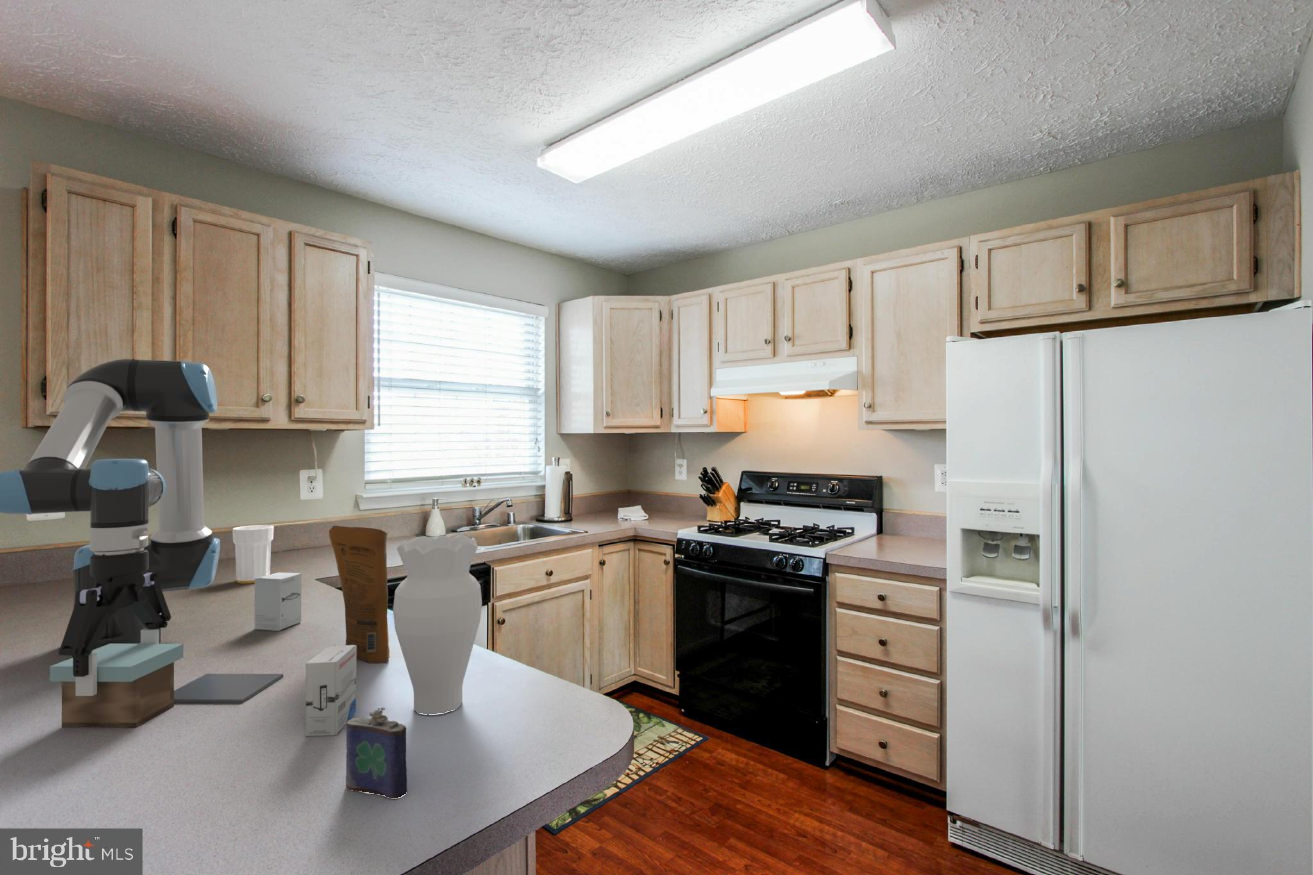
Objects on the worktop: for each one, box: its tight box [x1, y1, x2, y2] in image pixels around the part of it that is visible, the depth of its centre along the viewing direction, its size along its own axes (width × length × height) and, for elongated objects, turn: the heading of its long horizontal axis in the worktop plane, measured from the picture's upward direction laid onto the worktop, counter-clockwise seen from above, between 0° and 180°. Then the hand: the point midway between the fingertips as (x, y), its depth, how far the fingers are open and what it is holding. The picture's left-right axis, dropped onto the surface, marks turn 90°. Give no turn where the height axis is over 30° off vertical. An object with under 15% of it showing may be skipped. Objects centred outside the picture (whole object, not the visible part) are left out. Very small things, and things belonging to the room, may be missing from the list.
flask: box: [345, 707, 408, 799], centre depth 84 cm, size 9×3×11 cm, turn 72°
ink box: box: [305, 645, 357, 737], centre depth 103 cm, size 9×5×12 cm, turn 5°
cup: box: [231, 524, 275, 585], centre depth 205 cm, size 11×11×17 cm
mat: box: [174, 673, 284, 704], centre depth 117 cm, size 15×12×1 cm
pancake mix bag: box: [328, 525, 390, 664], centre depth 135 cm, size 7×19×28 cm, turn 53°
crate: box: [61, 662, 175, 729], centre depth 106 cm, size 12×8×8 cm, turn 90°
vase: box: [392, 534, 483, 715], centre depth 110 cm, size 15×15×29 cm
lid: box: [49, 643, 184, 682], centre depth 106 cm, size 13×11×5 cm
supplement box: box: [254, 572, 302, 632], centre depth 156 cm, size 7×7×13 cm
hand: (119, 679), depth 106 cm, fingers open, 12 cm apart
